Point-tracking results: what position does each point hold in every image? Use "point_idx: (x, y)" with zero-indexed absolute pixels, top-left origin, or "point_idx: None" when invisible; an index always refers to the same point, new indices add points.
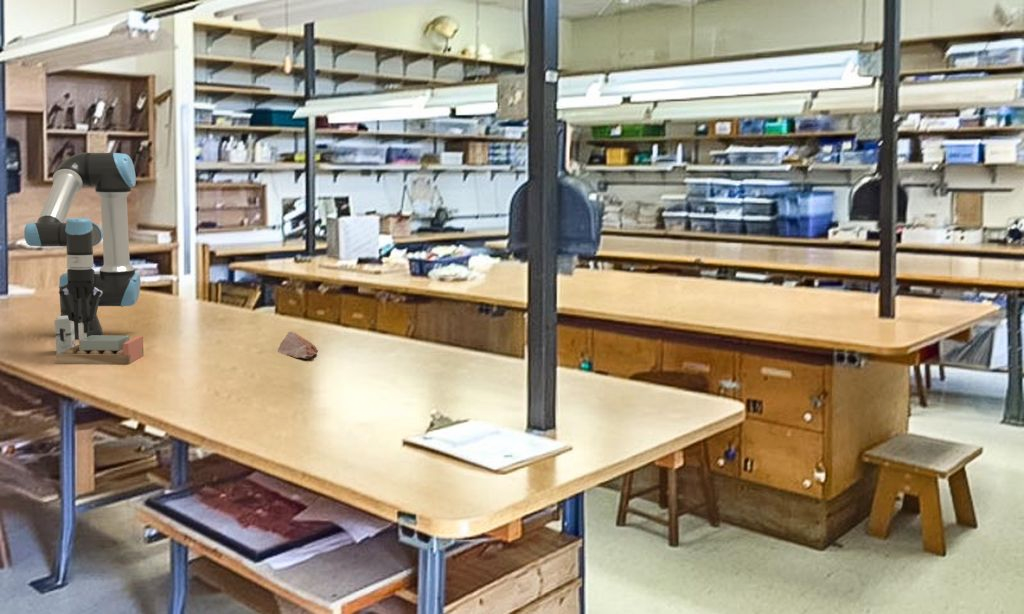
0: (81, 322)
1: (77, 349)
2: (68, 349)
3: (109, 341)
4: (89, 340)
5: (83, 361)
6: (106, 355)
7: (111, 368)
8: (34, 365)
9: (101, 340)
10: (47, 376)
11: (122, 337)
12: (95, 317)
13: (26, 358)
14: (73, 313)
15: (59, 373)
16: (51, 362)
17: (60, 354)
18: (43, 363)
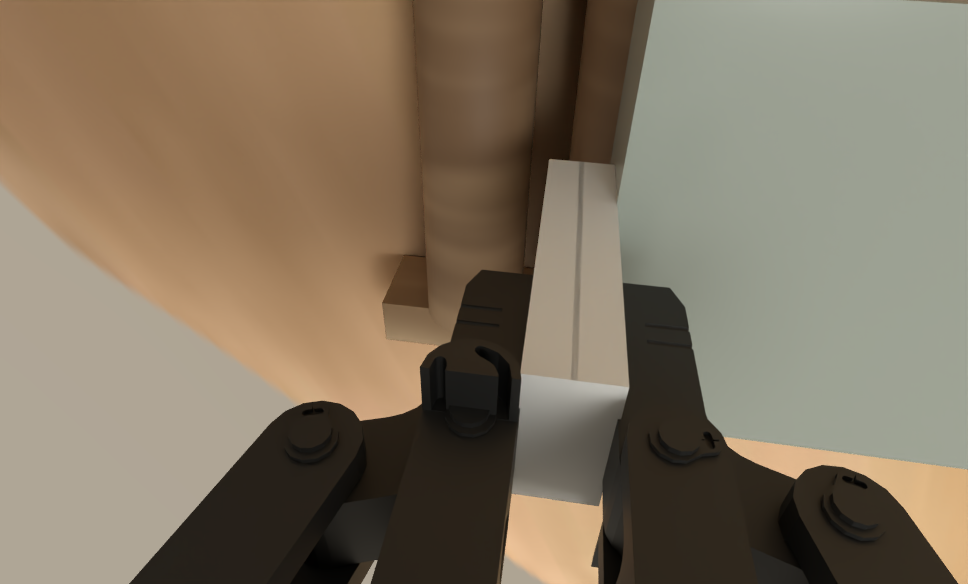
0: (537, 421)
1: (515, 190)
2: (454, 289)
3: (960, 463)
4: None
5: None
6: None
7: (863, 462)
8: (286, 326)
9: (859, 440)
10: (512, 558)
11: None
12: (920, 547)
13: (9, 40)
14: (284, 578)
15: (549, 520)
16: (343, 235)
17: (422, 334)
18: (305, 268)
